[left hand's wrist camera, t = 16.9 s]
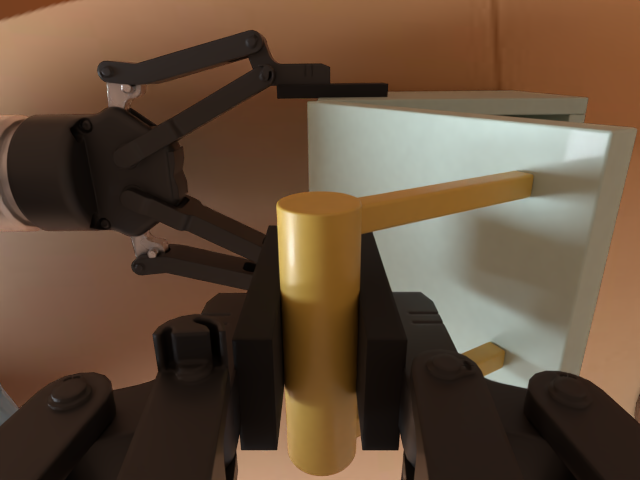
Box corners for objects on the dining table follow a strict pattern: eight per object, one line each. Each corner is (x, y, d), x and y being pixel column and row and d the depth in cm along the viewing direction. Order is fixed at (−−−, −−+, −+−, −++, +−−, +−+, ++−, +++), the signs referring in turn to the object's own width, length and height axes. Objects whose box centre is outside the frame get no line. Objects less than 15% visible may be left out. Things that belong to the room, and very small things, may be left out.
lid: (639, 127, 11) (337, 165, 7) (569, 420, 14) (335, 568, 10) (326, 100, 24) (149, 108, 19) (327, 261, 27) (176, 298, 23)
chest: (512, 90, 33) (589, 97, 24) (496, 209, 37) (557, 258, 27) (319, 92, 34) (317, 100, 24) (320, 210, 37) (318, 259, 27)
